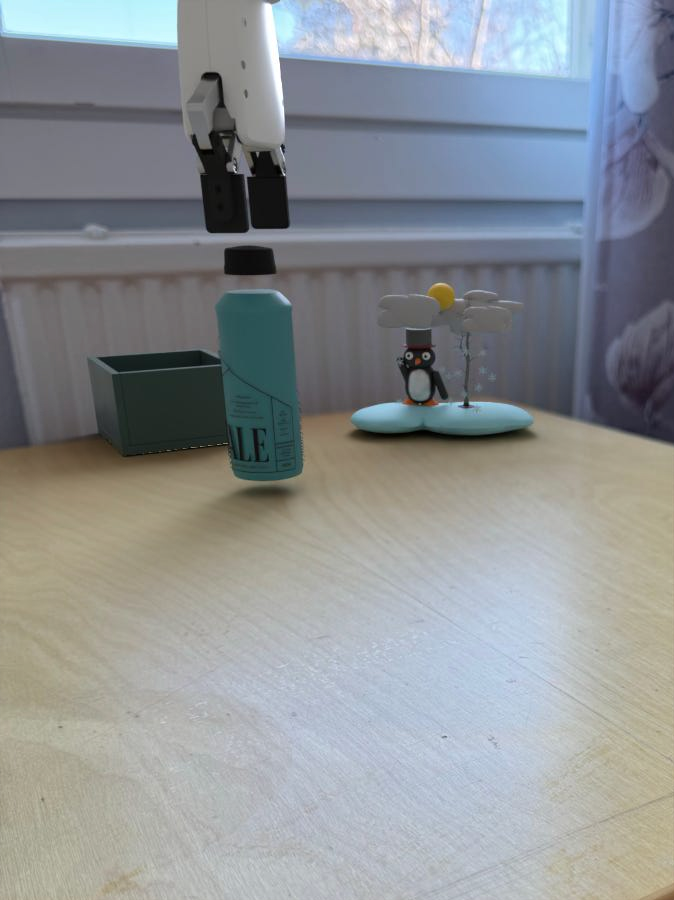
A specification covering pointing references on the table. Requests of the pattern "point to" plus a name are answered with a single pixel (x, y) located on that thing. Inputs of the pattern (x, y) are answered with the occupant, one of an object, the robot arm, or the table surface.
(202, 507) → the table surface
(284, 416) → the beverage bottle
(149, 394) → the holder bin
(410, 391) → the penguin figurine
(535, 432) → the table surface
